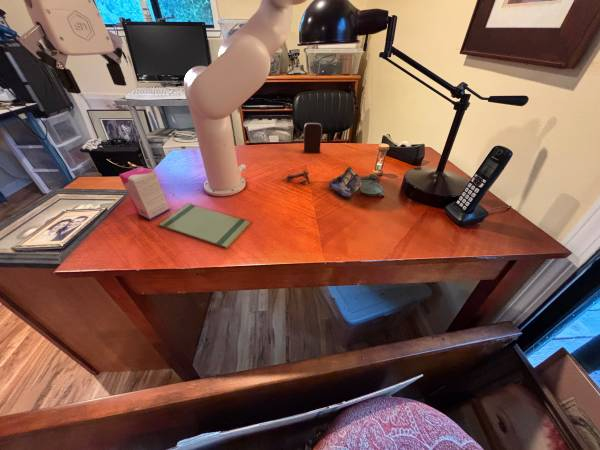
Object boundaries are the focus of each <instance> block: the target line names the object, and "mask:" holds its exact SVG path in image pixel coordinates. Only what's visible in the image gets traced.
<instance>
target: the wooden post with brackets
mask: <svg viewBox="0 0 600 450" xmlns="http://www.w3.org/2000/svg"><path fill="white" fill-rule="evenodd" d="M309 174H310V172H309V171H307V170H303V172H299V173H296V174H292V175H291V174H290V173H289V174H287V175H286V176H285V178H286V180H287V182H290V181H291V180H293V179H298V178H301V177H303V178H304V179H302V180H300V181H299V184H301V185H302V184H306V183H307V184H308V185H311V179H310V177H309V176H308V175H309Z"/></svg>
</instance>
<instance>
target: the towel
mask: <svg viewBox="0 0 600 450" xmlns="http://www.w3.org/2000/svg"><path fill="white" fill-rule="evenodd" d="M250 224H251V221H249V220H246V219H243V218H238V217H235V216H232V215H229V214H225V213H222V212H218V211H214V210H211V209H207V208H204V207H201V206H197V205H195V204H190V203H186V204H185V205H184V206H182V207H181V208H179V209H178V210H176V211H175V212H174V213H172V214H171V215H170V216H168V217H166V218H165V219H164V220H163V221H161V222H160V223H158V226H159V227H161V228H164V229H167V230H171V231H173V232H176V233H178V234H179V233H180V234H181V235H185V236H188V237H190V238H194V239H197V240H200V241H203V242H205V243H209V244H212V245H215V246H218V247H221V248H224V249H228V248H229V247H230V245H231V244H232V243H233V242H234V241H235V240H236V239H237V238H238V237H239V236H240V235H241V234H242V233H243V232H244V230H245V229H247V227H248V226H249V225H250Z"/></svg>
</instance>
